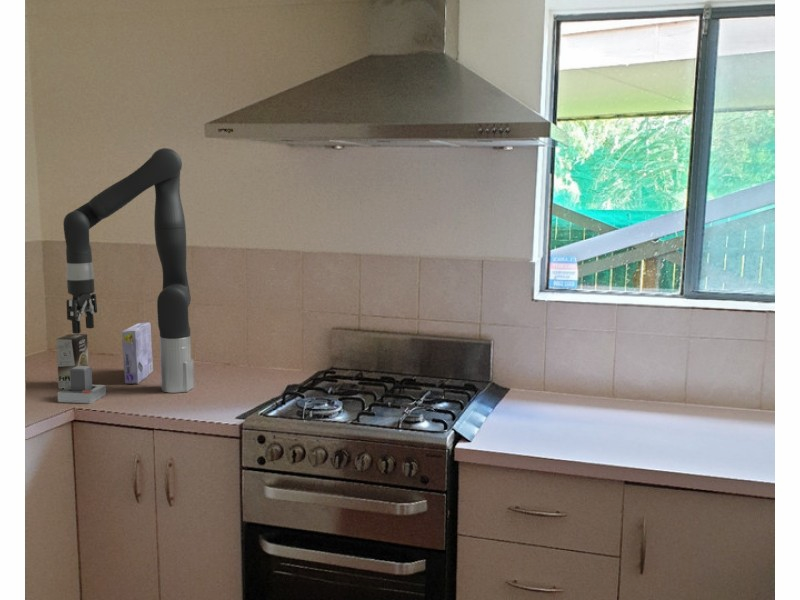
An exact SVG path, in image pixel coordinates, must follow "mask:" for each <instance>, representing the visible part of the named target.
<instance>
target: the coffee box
mask: <svg viewBox="0 0 800 600" xmlns="http://www.w3.org/2000/svg"><path fill="white" fill-rule="evenodd" d="M88 345H89V344H88V334H87V333H84V334H83V333H78V334H76V333H73V334H69V333H68V334H66V335H64V336H61V337H59V338H56V355H57V356H56V359H57V361H56V363H57V379H58V380H57V382H58V386H57V387H58V389H62V388H67V387H69V386H71V377H70V370H72V368H74V367H77V366H89V349H88V348H89V347H88Z"/></svg>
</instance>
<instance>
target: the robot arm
mask: <svg viewBox="0 0 800 600" xmlns="http://www.w3.org/2000/svg"><path fill="white" fill-rule="evenodd" d="M182 162H183V161H182V158H181V156H180V154H179V153H178V152H177V151H175V150H174V149H171V148H169V147H168V148H165V147H164V148H163V147H162V148H159V149H157V150H155V151H154V152H153V154H152V155H151V156H150V157H149V158H148V159H147V161H145V163H143V164H141V166H139V167H138V168H137V169H136V170H134V171H133V172H131V173H130V174H129V175H127V176H126V177H123V178H122V179H120V180H119V181H117V182H115V183H113V184H112V185H110V186H108V187H107V188H105V189H104V190H102V191H101V192H98V194H97V195H94V196H93V197H92V198H91V199H90V200H89V201H88V202H86V203H84V204H83V205H81V206H79V207H78V208H76V209H74V210H72V211H69V213H67V214H66V215H65V216H64V218H63V223H62V224H63V232H64V233H63V235H64V239H65V240H64V241H65V244H66V247H65V248H66V249H65V252H66V253H65V254H66V285H67V286H66V287H67V288H66V289H67V293H68V294H69V295H72V299H66V319H67V320H68V321H70V322H71V327H72V328H71V329H72V333H73V334H81V332H82V330H81V329H82V328H81V317H82V316H83V315H84V314H85V327H86V329H94V328H95V325H94V324H95V321H94V317H95V315H96V314H97V313H98V305H97V303H98V302H97V295H96V293H95V274H94V272H95V271H94V266H93V258H92V256H93V255H92V247H91V244H90V230H91V228H93V227H94V226H96V225H97V224H98V223H100V222H102V220H104V219H107V218H109V217H110V216H111V215H113V214H115V213H116V212H117V211H119V210H121V209H122V208H124V207H125V206H126V205H128V204H129V203H130V202H132V201H133V200H134V199H135V198H137V197H138V196H140V195H141V194H142V193H143V192H145V191H147V190H148V189H150V188H151V187H154V192H155V201H154V202H155V204H154V221H153V222H154V237H155V239H154V240H155V246H156V250H157V255H158V258H159V260H160V266H161V269H162V290H161V291H160V292H159V295H158V296H157V301H156V303H157V304H156V307H157V309H156V311H157V325H158V330H159V341H160V342H159V345H160V346H159V347H160V348H159V350H160V353H159V354H160V380H161V381H160V383H161V391H163V392H165V393H172V394H173V393H176V394H177V393H188V392H190V391H191V390H192V389H194V387H195V380H194V378H195V377H194V375H195V374H194V358H192V349H191V348H192V347H191V344H192V343H191V342H192V341H191V327H190V324H189V322H190V321H189V306H190V305H191V302H192V299H191V291H190V285H189V280H188V273H187V234H186V233H187V230H186V229H187V228H186V220H185V214H184V209H183V204H182V199H181V188H180V186H181V183H180V182H181V181H180V180H181V171H182V166H183V163H182Z"/></svg>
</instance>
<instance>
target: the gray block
mask: <svg viewBox="0 0 800 600" xmlns="http://www.w3.org/2000/svg"><path fill="white" fill-rule="evenodd" d="M92 371H93V370H92V367H91V366H89V365H88V366H77V367H74V368H72V370H70V377H71V391H79V392H82V391H83V390H91V389H92V385H93V375H92V373H93V372H92Z"/></svg>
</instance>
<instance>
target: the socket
mask: <svg viewBox="0 0 800 600" xmlns="http://www.w3.org/2000/svg"><path fill="white" fill-rule="evenodd" d="M106 395H107V386H106V384H92V389H91V390H83V391H82V392H79V391H71V386H69V387H67V388H65V389H62V390H61V389H60V391H58V392H57V402H58V403H68V404H71V403H73V404H92V403H93V402H95V401H98V400H99V399H101V398H103V397H105V396H106Z"/></svg>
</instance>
